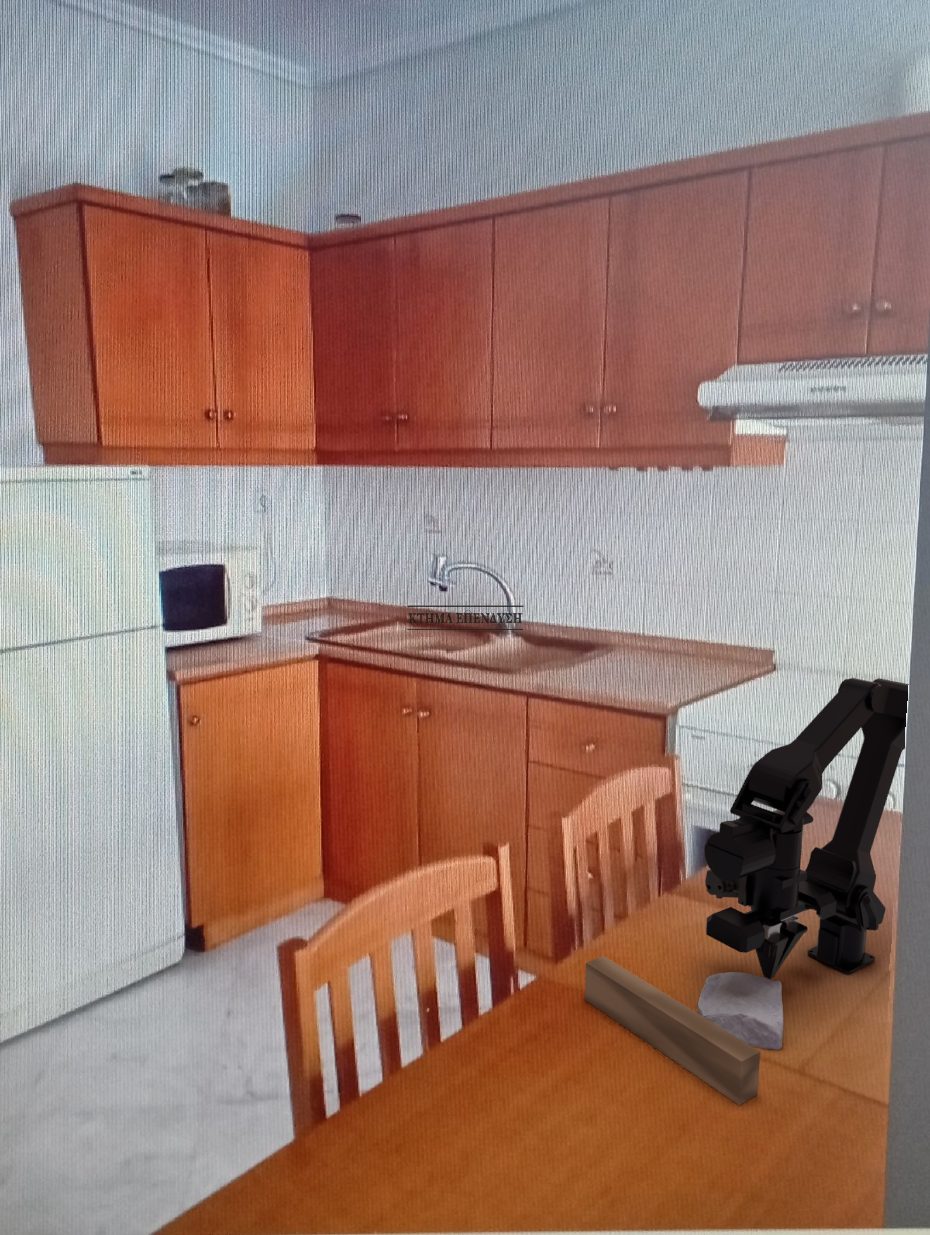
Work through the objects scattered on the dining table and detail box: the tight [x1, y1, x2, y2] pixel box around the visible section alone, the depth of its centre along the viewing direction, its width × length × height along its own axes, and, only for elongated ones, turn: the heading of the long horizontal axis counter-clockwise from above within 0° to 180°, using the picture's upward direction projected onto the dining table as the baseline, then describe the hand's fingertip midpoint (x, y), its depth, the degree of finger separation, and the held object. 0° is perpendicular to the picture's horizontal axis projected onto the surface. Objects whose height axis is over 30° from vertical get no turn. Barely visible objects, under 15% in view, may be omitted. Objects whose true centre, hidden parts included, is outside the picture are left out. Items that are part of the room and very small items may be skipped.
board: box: [584, 955, 761, 1106], centre depth 109 cm, size 3×24×5 cm, turn 35°
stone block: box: [697, 971, 784, 1051], centre depth 115 cm, size 12×5×10 cm
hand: (768, 977), depth 120 cm, fingers closed
